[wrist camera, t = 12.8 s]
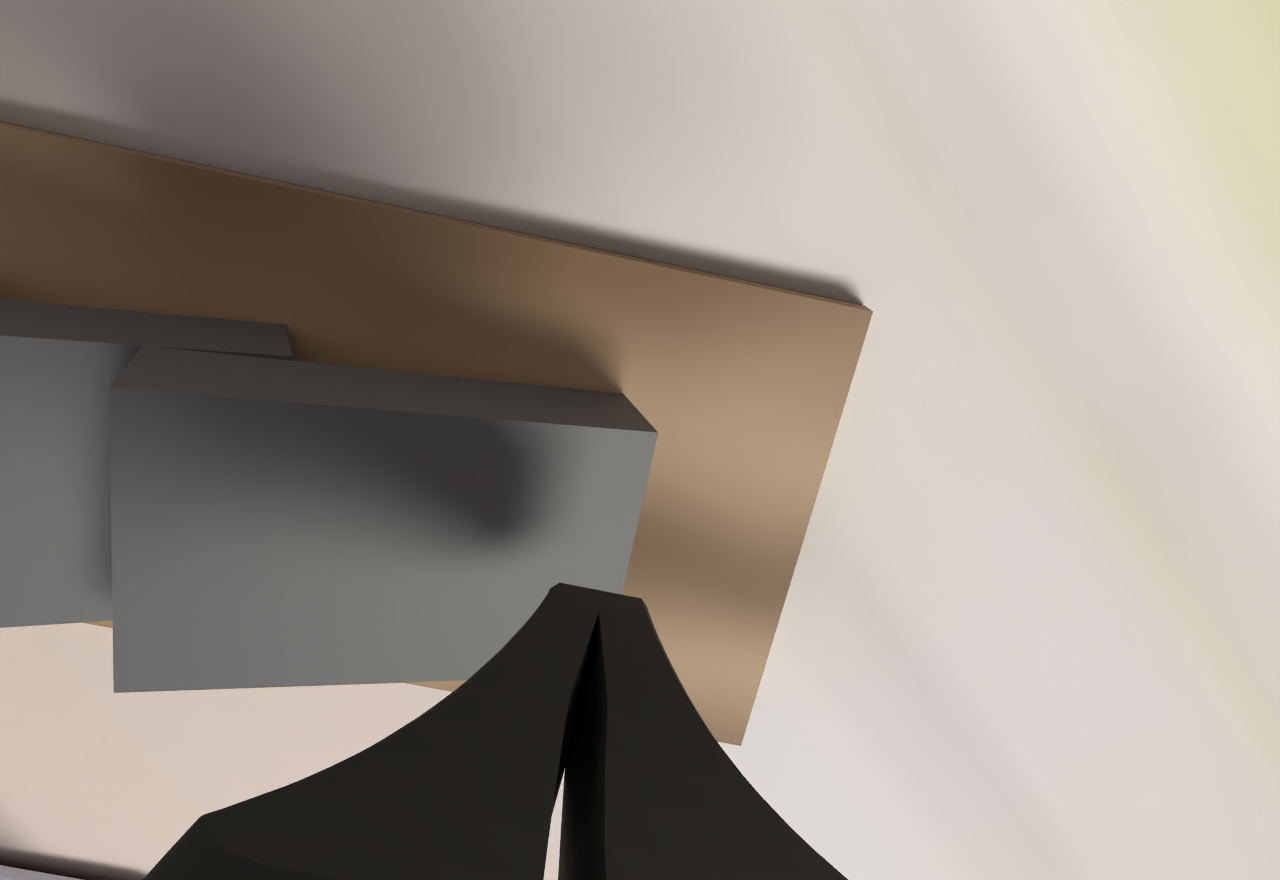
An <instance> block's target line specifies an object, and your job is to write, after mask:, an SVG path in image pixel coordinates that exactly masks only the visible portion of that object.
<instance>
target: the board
mask: <svg viewBox="0 0 1280 880" xmlns="http://www.w3.org/2000/svg"><path fill="white" fill-rule="evenodd" d="M0 299H1V300H12V301H23V302H35V303H46V304H58V305H69V306H80V307H92V308H103V309H114V310H126V311H137V312H149V313H160V314H171V315H183V316H194V317H206V318H217V319H228V320H240V321H251V322H262V323H274V324H285V325H286V328H287V333H288V338H289V343H290V348H291V353H292V361H301V362H311V363H321V364H331V365H341V366H351V367H361V368H371V369H380V370H390V371H400V372H410V373H420V374H430V375H440V376H450V377H460V378H470V379H480V380H490V381H500V382H510V383H520V384H530V385H540V386H549V387H559V388H569V389H579V390H589V391H599V392H609V393H619V394H624V395H625V396H626V397H627V398H628V399H629V400H630V402H631V403H632V404H633V405H634V406H635V407H636V408H637V409H638V410H639V412H640V413H641V414H642V415H643V416H644V417H645V418H646V419H647V421H648V422H649V423H650V424H651V425H652V426H653V427H654V428H655V429H656V431H657V432H658V436H657V441H656V445H655V450H654V454H653V458H652V463H651V467H650V472H649V476H648V481H647V485H646V489H645V494H644V498H643V503H642V507H641V512H640V516H639V520H638V525H637V529H636V534H635V538H634V542H633V547H632V551H631V556H630V560H629V565H628V569H627V573H626V578H625V582H624V587H623V591H622V595H627V596H632V597H637V598H642V600H643V601H644V603H645V604H646V606H647V608H648V611H649V614H650V617H651V619H652V622H653V625H654V627H655V629H656V632H657V634H658V637H659V639H660V641H661V643H662V645H663V648H664V650H665V652H666V654H667V656H668V658H669V660H670V662H671V664H672V666H673V668H674V670H675V672H676V674H677V676H678V678H679V680H680V681H681V683H682V685H683V687H684V689H685V691H686V693H687V694H688V696H689V698H690V700H691V701H692V703H693V705H694V707H695V708H696V710H697V711H698V713H699V715H700V716H701V718H702V719H703V721H704V723H705V724H706V726H707V727H708V729H709V730H710V732H711V733H712V735H713V736H714V738H715V739H716V741H718V742H723V743H728V744H734V745H739V746H741V743H742V740H743V737H744V734H745V730H746V727H747V724H748V720H749V717H750V714H751V711H752V707H753V704H754V701H755V697H756V694H757V691H758V688H759V684H760V681H761V678H762V674H763V671H764V668H765V665H766V661H767V658H768V655H769V651H770V648H771V645H772V642H773V638H774V635H775V632H776V628H777V625H778V622H779V618H780V615H781V612H782V609H783V605H784V602H785V599H786V595H787V592H788V589H789V586H790V582H791V579H792V576H793V572H794V569H795V566H796V563H797V559H798V556H799V553H800V549H801V546H802V543H803V540H804V536H805V533H806V530H807V526H808V523H809V520H810V517H811V513H812V510H813V507H814V503H815V500H816V497H817V494H818V490H819V487H820V484H821V480H822V477H823V474H824V471H825V467H826V464H827V461H828V457H829V454H830V451H831V448H832V444H833V441H834V438H835V434H836V431H837V428H838V425H839V421H840V418H841V415H842V411H843V408H844V405H845V402H846V398H847V395H848V392H849V388H850V385H851V382H852V379H853V375H854V372H855V369H856V365H857V362H858V359H859V356H860V352H861V349H862V346H863V342H864V339H865V336H866V333H867V329H868V326H869V323H870V319H871V316H872V313H873V311H871V310H870V309H869V308H867V307H866V306H863V305H858V304H853V303H849V302H844V301H839V300H835V299H830V298H825V297H820V296H816V295H811V294H806V293H802V292H797V291H792V290H788V289H783V288H778V287H774V286H769V285H764V284H759V283H755V282H750V281H745V280H741V279H736V278H731V277H727V276H722V275H717V274H712V273H708V272H703V271H698V270H694V269H689V268H684V267H680V266H675V265H670V264H666V263H661V262H656V261H651V260H647V259H642V258H637V257H633V256H628V255H623V254H619V253H614V252H609V251H605V250H600V249H595V248H590V247H586V246H581V245H576V244H572V243H567V242H562V241H558V240H553V239H548V238H543V237H539V236H534V235H529V234H525V233H520V232H515V231H511V230H506V229H501V228H497V227H492V226H487V225H482V224H478V223H473V222H468V221H464V220H459V219H454V218H450V217H445V216H440V215H436V214H431V213H426V212H421V211H417V210H412V209H407V208H403V207H398V206H393V205H389V204H384V203H379V202H374V201H370V200H365V199H360V198H356V197H351V196H346V195H342V194H337V193H332V192H328V191H323V190H318V189H313V188H309V187H304V186H299V185H295V184H290V183H285V182H281V181H276V180H271V179H267V178H262V177H257V176H252V175H248V174H243V173H238V172H234V171H229V170H224V169H220V168H215V167H210V166H205V165H201V164H196V163H191V162H187V161H182V160H177V159H173V158H168V157H163V156H159V155H154V154H149V153H144V152H140V151H135V150H130V149H126V148H121V147H116V146H112V145H107V144H102V143H97V142H93V141H88V140H83V139H79V138H74V137H69V136H65V135H60V134H55V133H51V132H46V131H41V130H36V129H32V128H27V127H22V126H18V125H13V124H8V123H4V122H0ZM82 623H88V624H93V625H98V626H104V627H109V628H113V621H98V622H82ZM466 681H467V680H461V681H433V682H404V683H408V684H413V685H419V686H424V687H429V688H435V689H440V690H445V691H451V692H453V691H455V690H456V689H457V688H458V687H460V686H461V685H462V684H463V683H465V682H466Z"/></svg>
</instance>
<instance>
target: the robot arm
mask: <svg viewBox="0 0 1280 880" xmlns="http://www.w3.org/2000/svg"><path fill="white" fill-rule="evenodd" d="M564 769H565V775H564V791H563V807H562V823H561V840H560V857H559V873H558V880H848V879H847V878H845V877H844V876H843V875H842V874H841V873H840V872H839V871H837V870H836V869H835V868H834V867H833V866H832V865H831V864H830V863H828V862H827V861H826V860H825V859H824V858H823V857H822V856H820V855H819V854H818V853H817V852H816V851H815V850H814V849H813V848H812V847H810V846H809V845H808V844H807V843H806V842H805V841H804V840H803V839H802V838H801V837H800V836H799V835H798V834H797V833H796V832H795V831H794V830H793V829H792V828H791V827H790V826H789V825H788V824H787V823H786V822H785V821H784V820H783V819H782V818H781V817H780V816H779V815H778V814H777V813H776V812H775V811H774V809H773V808H772V807H771V806H770V805H769V804H768V803H767V802H766V801H765V800H764V799H763V798H762V797H761V796H760V795H759V793H758V792H757V791H756V790H755V789H754V788H753V787H752V785H751V784H750V783H749V782H748V781H747V780H746V778H745V777H744V776H743V775H742V774H741V772H740V771H739V770H738V768H737V767H736V766H735V765H734V763H733V762H732V761H731V759H730V758H729V757H728V756H727V754H726V753H725V752H724V750H723V749H722V748H721V747H720V745H719V744H718V742H717V741H716V739H715V738H714V736H713V735H712V733H711V732H710V730H709V729H708V727H707V726H706V724H705V723H704V721H703V719H702V718H701V716H700V715H699V713H698V711H697V710H696V708H695V707H694V705H693V703H692V701H691V700H690V698H689V696H688V694H687V693H686V691H685V689H684V687H683V685H682V683H681V681H680V680H679V678H678V676H677V674H676V672H675V670H674V668H673V666H672V664H671V662H670V660H669V658H668V656H667V654H666V652H665V650H664V648H663V645H662V643H661V641H660V639H659V637H658V634H657V632H656V629H655V627H654V625H653V622H652V619H651V617H650V614H649V611H648V608H647V606H646V604H645V603H644V601H643V600H642V598H637V597H632V596H627V595H622V594H616V593H611V592H606V591H601V590H596V589H591V588H586V587H580V586H575V585H570V584H565V583H558V584H556V585H554V586H553V587H551V588H550V590H549V592H548V594H547V595H546V597H545V599H544V600H543V602H542V603H541V604H540V606H539V607H538V608H537V610H536V611H535V612H534V613H533V615H532V616H531V617H530V618H529V619H528V621H527V622H526V623H525V624H524V625H523V626H522V628H521V629H520V630H519V631H518V632H517V633H516V634H515V635H514V636H513V637H512V638H511V639H510V640H509V641H508V642H507V644H506V645H505V646H504V647H503V648H502V649H501V650H500V651H499V652H498V653H497V654H496V655H495V656H494V657H492V658H491V659H490V660H489V661H488V662H487V663H486V664H485V665H484V666H482V667H481V668H480V669H479V670H478V671H477V672H476V673H475V674H474V675H473V676H471V677H470V678H469V679H468V680H467V681H466V682H465V683H463V684H462V685H461V686H460V687H458V688H457V689H456V690H455V691H453V692H452V693H451V694H450V695H448V696H447V697H446V698H444V699H443V700H442V701H440V702H439V703H438V704H436V705H435V706H433V707H432V708H431V709H429V710H428V711H426V712H425V713H424V714H422V715H421V716H419V717H418V718H416V719H415V720H413V721H412V722H410V723H408V724H407V725H405V726H404V727H402V728H400V729H399V730H397V731H396V732H394V733H392V734H391V735H389V736H388V737H386V738H385V739H383V740H381V741H379V742H378V743H376V744H374V745H372V746H371V747H369V748H367V749H365V750H363V751H362V752H360V753H358V754H356V755H354V756H352V757H350V758H348V759H346V760H344V761H341V762H339V763H337V764H335V765H333V766H331V767H329V768H327V769H325V770H322V771H320V772H318V773H316V774H313V775H311V776H309V777H307V778H304V779H302V780H299V781H297V782H295V783H292V784H290V785H287V786H285V787H282V788H279V789H276V790H274V791H271V792H268V793H265V794H262V795H260V796H257V797H254V798H251V799H249V800H246V801H243V802H240V803H237V804H235V805H232V806H229V807H226V808H223V809H220V810H217V811H214V812H211V813H208V814H205V815H203V816H201V817H200V818H199V819H198V820H197V821H196V822H195V823H194V824H193V825H192V826H191V827H190V828H189V829H188V830H187V832H186V833H185V834H184V835H183V836H182V837H181V838H180V839H179V840H178V841H177V842H176V844H175V845H174V846H173V847H172V848H171V849H170V850H169V851H168V852H167V853H166V854H165V856H164V857H163V858H162V859H161V860H160V861H159V862H158V863H157V864H156V866H155V867H154V868H153V869H152V870H151V871H150V872H149V873H148V874H147V876H146V877H145V878H144V879H143V880H543V878H544V870H545V862H546V854H547V846H548V838H549V831H550V823H551V816H552V813H553V809H554V806H555V802H556V798H557V795H558V791H559V788H560V784H561V780H562V777H563V773H564ZM0 880H83V879H77V878H71V877H66V876H60V875H54V874H48V873H43V872H37V871H31V870H25V869H20V868H14V867H8V866H2V865H0Z"/></svg>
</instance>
